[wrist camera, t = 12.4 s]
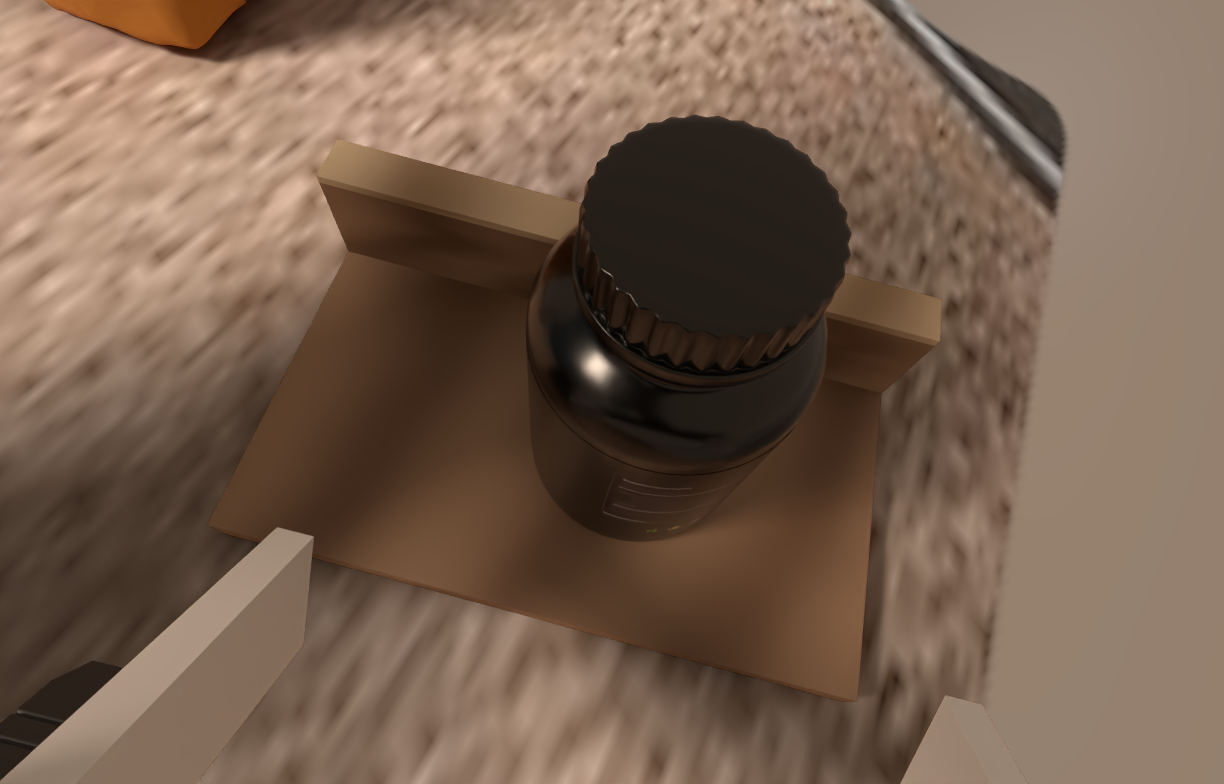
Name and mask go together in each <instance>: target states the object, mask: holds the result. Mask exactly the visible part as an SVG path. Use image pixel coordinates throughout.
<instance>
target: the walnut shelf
mask: <svg viewBox="0 0 1224 784" xmlns="http://www.w3.org/2000/svg"><path fill="white" fill-rule="evenodd" d="M317 178H318V181H319V183H320V185H321V188H322V190H323V192H324V195H325V197H326V199H327V202H328V204H329V206H330V209H331V211H332V214H333V216H334V218H335V221H336V223H337V225H338V228H339V230H340V232H341V235H342V237H343V239H344V242H345V244H346V247H347V249H348V253H347V255H346V257H345V259H344V261H343V263H342V265H341V267H340V269H339V271H338V273H337V275H336V276H335V278H334V280H333V282H332V284H331V286H330V288H329V290H328V292H327V294H326V296H325V298H324V300H323V302H322V304H321V305H320V307H319V309H318V311H317V313H316V315H315V317H314V319H313V321H312V323H311V325H310V327H309V329H308V331H307V333H306V334H305V336H304V338H303V340H302V342H301V344H300V346H299V348H298V350H297V352H296V354H295V356H294V358H293V360H292V362H291V363H290V365H289V367H288V369H287V371H286V373H285V375H284V377H283V379H282V381H281V383H280V385H279V387H278V389H277V391H276V392H275V394H274V396H273V398H272V400H271V402H270V404H269V406H268V408H267V410H266V412H265V414H264V416H263V418H262V420H261V421H260V423H259V425H258V427H257V429H256V431H255V433H254V435H253V437H252V439H251V441H250V443H249V445H248V447H247V449H246V450H245V452H244V454H243V456H242V458H241V460H240V462H239V464H238V466H237V468H236V470H235V472H234V474H233V476H232V478H231V479H230V481H229V483H228V485H227V487H226V489H225V491H224V493H223V495H222V497H221V499H220V501H219V503H218V505H217V506H216V508H215V510H214V512H213V514H212V516H211V518H210V520H209V522H208V524H207V525H209V526H211V527H213V528H214V529H216V530H218V531H220V532H222V533H224V534H228V535H231V536H235V537H239V538H242V539H246V540H250V541H253V542H257V543H261V542H262V541H263V540H264V539H265V538H266V537H267V536H268V535H269V534H270V533H272V532H273V531H274V530H275V529H276V528H277V527H278V528H282V529H286V530H290V531H294V532H298V533H302V534H306V535H310V536H314V540H313V551H312V558H316V559H319V560H323V561H327V562H330V563H334V564H338V565H341V566H345V567H349V568H352V569H356V570H360V571H363V572H367V573H371V574H374V575H378V576H382V577H386V578H389V579H393V580H397V581H400V582H404V583H408V584H411V585H415V586H419V587H422V588H426V589H430V590H433V591H437V592H441V593H444V594H448V595H452V596H455V597H459V598H463V599H466V600H470V601H474V602H477V603H481V604H485V605H488V606H492V607H496V608H499V609H503V610H507V611H510V612H514V613H518V614H521V615H525V616H529V617H532V618H536V619H540V620H543V621H547V622H551V623H554V624H558V625H562V626H566V627H569V628H573V629H577V630H580V631H584V632H588V633H591V634H595V635H599V636H602V637H606V638H610V639H613V640H617V641H621V642H624V643H628V644H632V645H635V646H639V647H643V648H646V649H650V650H654V651H657V652H661V653H665V654H668V655H672V656H676V657H679V658H683V659H687V660H690V661H694V662H698V663H701V664H705V665H709V666H712V667H716V668H720V669H723V670H727V671H731V672H734V673H738V674H742V675H745V676H749V677H753V678H757V679H760V680H764V681H768V682H771V683H775V684H779V685H782V686H786V687H790V688H793V689H797V690H801V691H804V692H808V693H812V694H815V695H819V696H823V697H826V698H830V699H834V700H837V701H848V702H857V699H858V686H859V673H860V661H861V648H862V635H863V622H864V610H865V597H866V584H867V571H868V559H869V546H870V533H871V520H872V507H873V495H874V482H875V469H876V456H877V444H878V431H879V418H880V405H881V393H882V392H884V391H885V390H886V389H887V388H888V387H889V386H890V385H891V384H893V383H894V382H895V381H896V380H897V379H898V378H899V377H901V376H902V375H903V374H904V373H905V372H906V371H907V370H908V369H910V368H911V367H912V366H913V365H914V364H915V363H916V362H917V361H919V360H920V359H921V358H922V357H923V356H924V355H925V354H926V353H928V352H929V351H930V350H931V349H932V348H933V347H934V346H935V345H937V344H938V343H939V342H940V331H941V304H942V299H939V298H936V297H932V296H928V295H924V294H920V293H917V292H913V291H909V290H905V289H902V288H898V287H894V286H890V285H886V284H883V283H879V282H875V281H871V280H868V279H864V278H860V277H856V276H852V275H849V274H845V277H844V280H843V282H842V284H841V285H840V287H839V288H838V290H837V291H836V292H835V294H834V297H833V299H832V302H831V303H830V305H829V306H828V307H827V309H826V310H825V315H826V320H827V328H828V356H827V363H826V368H825V373H824V376H823V379H822V382H821V385H820V388H819V391H818V393H817V395H816V397H815V399H814V401H813V403H812V404H811V406H810V408H809V409H808V411H807V412H806V414H805V415H804V417H803V418H802V419H801V420H800V422H799V423H798V424H797V425H796V427H795V428H794V429H793V430H792V432H791V433H790V434H789V435H788V436H787V437H786V438H785V439H784V440H783V441H782V442H781V443H780V444H779V445H778V446H777V447H776V448H775V449H774V450H773V451H772V452H771V453H770V454H769V455H768V456H767V457H766V458H765V459H764V460H763V461H762V462H761V463H760V464H759V465H758V466H757V467H756V468H755V469H754V470H753V471H752V472H751V474H750V475H749V476H748V477H747V478H746V479H745V480H744V481H743V482H742V483H741V484H740V485H739V486H738V487H737V488H736V489H735V490H734V491H733V492H732V493H731V494H730V495H729V496H728V497H727V498H726V499H725V500H724V501H723V502H722V503H721V504H720V505H719V506H718V507H717V508H716V509H715V510H714V511H713V512H712V513H710V514H709V515H708V516H707V517H706V518H705V519H703V520H702V521H701V522H699V523H698V524H696V525H695V526H693V527H692V528H690V529H688V530H686V531H684V532H682V533H680V534H677V535H675V536H672V537H669V538H665V539H661V540H655V541H646V542H630V541H623V540H617V539H613V538H609V537H606V536H603V535H600V534H597V533H595V532H593V531H591V530H589V529H587V528H585V527H583V526H582V525H580V524H579V523H577V522H576V521H574V520H573V519H572V518H570V517H569V516H568V515H567V514H566V513H565V512H564V511H563V510H562V509H561V508H560V507H559V506H558V505H557V504H556V503H555V502H554V500H553V499H552V498H551V496H550V495H549V493H548V492H547V490H546V488H545V487H544V485H543V483H542V481H541V479H540V476H539V474H538V471H537V468H536V465H535V461H534V457H533V451H532V443H531V431H530V411H529V391H528V371H527V351H526V318H527V307H528V301H529V296H530V292H531V288H532V285H533V282H534V280H535V277H536V275H537V273H538V271H539V268H540V266H541V265H542V263H543V261H544V259H545V258H546V256H547V255H548V253H549V252H550V251H551V249H552V248H553V247H554V245H555V244H556V243H557V242H558V241H559V240H560V239H561V238H562V236H563V235H564V234H565V233H566V232H568V231H569V230H570V229H571V228H572V227H573V226H574V225H576V224H577V223H578V220H579V210H580V206H581V204H580V203H577V202H573V201H569V200H565V199H562V198H558V197H554V196H550V195H546V194H543V193H539V192H535V191H531V190H528V189H524V188H520V187H516V186H512V185H509V184H505V183H501V182H497V181H494V180H490V179H486V178H482V177H478V176H475V175H471V174H467V173H463V172H460V171H456V170H452V169H448V168H444V167H441V166H437V165H433V164H429V163H426V162H422V161H418V160H414V159H410V158H407V157H403V156H399V155H395V154H392V153H388V152H384V151H380V150H376V149H373V148H369V147H365V146H361V145H358V144H354V143H350V142H346V141H342V140H339V139H338V140H337V141H336V143H335V145H334V146H333V148H332V150H331V152H330V153H329V155H328V157H327V159H326V160H325V162H324V164H323V165H322V167H321V169H320V171H319V172H318V174H317Z"/></svg>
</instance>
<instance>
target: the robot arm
mask: <svg viewBox="0 0 1224 784" xmlns="http://www.w3.org/2000/svg"><path fill="white" fill-rule="evenodd" d="M313 540H314V536H310V535H306V534H302V533H298V532H294V531H290V530H286V529H282V528H278V527H277V528H276V529H275V530H274V531H273V532H272V533H270V534H269V535H268V536H267V537H266V538H265V539H264V540H263V541H262V542H261V543H259V544H258V545H257V546H256V547H255V548H254V549H253V550H252V551H251V552H250V553H249V554H247V555H246V556H245V557H244V558H243V559H242V560H241V561H240V562H239V563H238V564H237V565H235V566H234V567H233V568H232V569H231V570H230V571H229V572H228V573H227V574H226V575H225V576H223V577H222V578H221V579H220V580H219V581H218V582H217V583H216V584H215V585H214V586H212V587H211V588H210V589H209V590H208V591H207V592H206V593H205V594H204V595H203V596H202V597H200V598H199V599H198V600H197V601H196V602H195V603H194V604H193V605H192V606H191V607H190V608H188V609H187V610H186V611H185V612H184V613H183V614H182V615H181V616H180V617H179V618H178V619H176V620H175V621H174V622H173V623H172V624H171V625H170V626H169V627H168V628H167V629H166V630H164V631H163V632H162V633H161V634H160V635H159V636H158V637H157V638H156V639H155V640H153V641H152V642H151V643H150V644H149V645H148V646H147V647H146V648H145V649H144V650H143V651H141V652H140V653H139V654H138V655H137V656H136V657H135V658H134V659H133V660H132V661H131V662H129V663H128V664H127V665H126V666H125V667H124V668H120V667H116V666H112V665H108V664H104V663H100V662H96V661H91V662H89V663H87V664H85V665H83V666H81V667H79V668H77V669H75V670H73V671H71V672H69V673H67V674H65V675H63V676H61V677H59V678H57V679H55V680H53V681H51V682H50V683H49V684H47V685H46V686H45V687H44V688H43V689H41V690H40V691H39V692H38V693H37V694H35V695H34V696H33V697H32V698H30V699H29V700H28V701H27V702H26V703H24V704H23V705H22V706H21V707H20V708H18V711H17V713H16V714H15V715H13V714H11V715H10V716H9V717H8V718H6V719H5V720H4V721H3V722H2V723H0V784H197V782H198V781H199V780H200V778H201V777H202V776H203V775H204V773H205V772H206V771H207V769H208V768H209V767H210V765H211V764H212V763H213V762H214V760H215V759H216V758H217V756H218V755H219V754H220V752H221V751H222V750H223V749H224V747H225V746H226V745H227V743H228V742H229V741H230V739H231V738H232V737H233V736H234V734H235V733H236V732H237V730H238V729H239V728H240V726H241V725H242V724H243V723H244V721H245V720H246V719H247V717H248V716H249V715H250V713H251V712H252V711H253V710H254V708H255V707H256V706H257V704H258V703H259V702H260V700H261V699H262V698H263V697H264V695H265V694H266V693H267V691H268V690H269V689H270V687H271V686H272V685H273V684H274V682H275V681H276V680H277V678H278V677H279V676H280V674H281V673H282V672H283V671H284V669H285V668H286V667H287V665H288V664H289V663H290V661H291V660H292V659H293V658H294V656H295V655H296V654H297V652H298V651H299V650H300V648H301V647H302V646H303V644H304V634H305V624H306V613H307V603H308V592H309V582H310V572H311V561H312V551H313ZM900 784H1028V783H1027V781H1026V780H1025V778H1024V776H1023V774H1022V773H1021V771H1020V769H1019V767H1018V766H1017V764H1016V762H1015V760H1014V759H1013V757H1012V756H1011V754H1010V752H1009V750H1008V748H1007V747H1006V745H1005V743H1004V741H1003V740H1002V738H1001V736H1000V734H999V733H998V731H997V729H996V728H995V726H994V724H993V722H992V721H991V719H990V717H989V715H988V714H987V712H986V710H985V708H984V707H983V705H982V704H978V703H974V702H970V701H966V700H962V699H958V698H954V697H950V696H946V695H945V697H944V699H943V701H942V703H941V704H940V706H939V708H938V710H937V712H936V714H935V716H934V718H933V720H932V722H931V724H930V726H929V728H928V730H927V732H926V734H925V736H924V738H923V740H922V742H921V744H920V746H919V748H918V750H917V752H916V754H915V756H914V758H913V760H912V761H911V763H910V765H909V767H908V769H907V771H906V773H905V775H904V777H903V779H902V781H901V783H900Z"/></svg>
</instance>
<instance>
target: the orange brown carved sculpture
mask: <svg viewBox="0 0 1224 784" xmlns="http://www.w3.org/2000/svg"><path fill="white" fill-rule="evenodd" d="M45 1H46V2H47V3H48V4H49V5H51V6H52V7H53V8H55V9H57V10H60V11H65V12H69V13H71V14H73V15H75V16H77V17H80V18H83V19H85V20H91V21H94V22H96V23H99V24H101V25H104V26H108V27H112V28H115V29H117V30H120V31H122V32H125V33H127V34H129V35H131V36H133V37H136V38H138V39H141V40H144V41H148V42H151V43H154V44H159V45H174V46H180V47H184V48H190V49H197V48H199V47H201V46H203V45H204V44H205V43H206V42H207V41H208V40H209V39H210V38H211V37H212V35H213V34H214V33H215V32H216V31H217V30H218V29H219V27H220V26H221V25H222V24H223V23H224V22H225V21H226V19H227V18H228V17H229V16H230V15H231V14H232V13H233V12H234V11H235V10H236V9H238V8H239V7H241V6H242V5H244V4H245V2H246V1H247V0H45Z"/></svg>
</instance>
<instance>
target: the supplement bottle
mask: <svg viewBox="0 0 1224 784" xmlns="http://www.w3.org/2000/svg"><path fill="white" fill-rule="evenodd" d="M846 219H847V211H846V210H845V208H844V207H843V206H842V204H841V203H840V202H839V195H838V191H837V190H836V189H835V188H834V187H833V186H832V185H831V184H830V183H829V182H828V180H827V177H826V175H825V172H823V171H822V170H821V169H819V168H818V167H816V166H815V165H814V164H813V163H812V161H811V159H810V158H809V156H808V155H806V154H805V153H803V152H801V151H799V150H797V149H795V148H794V147H793V145H792V144H791V143H790V142H789V141H788V140H785V139H782V138H779V137H776V136H775V135H773V134H772V133H771V132H770V131H768V130H767V129H763V128H758V127H753V126H752V125H750V124H748V123H746V122H745V121H731V120H728V119H726V118H723V117H720V116H715V117H708V118H707V117H702V116H698V115H692V116H689V117H686V118H677V117H670V118H668V119H666V120H665V121H663V122H658V123H648V124H647V125H646V126H645V127H644V128H643V129H641V130H639V131H634V132H630V133H628V134H627V136H626V137H625V138H624V140H623V141H622V142H619V143H617V144H615V145H613V146H611V147H610V150H609V152H608V155H607V156H606V157H605V158H603V159H601V160H600V161H599V162H597V164H596V166H595V171H594V175H593V176H592V177H591V178H590V179H589V180H588V181H587V183H586V186H585V191H584V200H583V201H582V204H581V206H580V210H579V220H578V223H577V224H576V225H574V226H573V227H572V228H571V229H570V230H569V231H568V232H566V233H565V234H564V235H563V236H562V238H561V239H560V240H559V241H558V242H557V243H556V244H555V245H554V247H553V248H552V249H551V251H550V252H549V253H548V255H547V256H546V258H545V259H544V261H543V263H542V265H541V266H540V268H539V271H538V273H537V275H536V277H535V280H534V282H533V285H532V288H531V292H530V296H529V301H528V307H527V318H526V351H527V371H528V391H529V411H530V431H531V443H532V451H533V457H534V461H535V465H536V468H537V471H538V474H539V476H540V479H541V481H542V483H543V485H544V487H545V488H546V490H547V492H548V493H549V495H550V496H551V498H552V499H553V500H554V502H555V503H556V504H557V505H558V506H559V507H560V508H561V509H562V510H563V511H564V512H565V513H566V514H567V515H568V516H569V517H570V518H572V519H573V520H574V521H576V522H577V523H579V524H580V525H582V526H583V527H585V528H587V529H589V530H591V531H593V532H595V533H597V534H600V535H603V536H606V537H609V538H613V539H617V540H623V541H630V542H646V541H655V540H661V539H665V538H669V537H672V536H675V535H677V534H680V533H682V532H684V531H686V530H688V529H690V528H692V527H693V526H695V525H696V524H698V523H699V522H701V521H702V520H703V519H705V518H706V517H707V516H708V515H709V514H710V513H712V512H713V511H714V510H715V509H716V508H717V507H718V506H719V505H720V504H721V503H722V502H723V501H724V500H725V499H726V498H727V497H728V496H729V495H730V494H731V493H732V492H733V491H734V490H735V489H736V488H737V487H738V486H739V485H740V484H741V483H742V482H743V481H744V480H745V479H746V478H747V477H748V476H749V475H750V474H751V472H752V471H753V470H754V469H755V468H756V467H757V466H758V465H759V464H760V463H761V462H762V461H763V460H764V459H765V458H766V457H767V456H768V455H769V454H770V453H771V452H772V451H773V450H774V449H775V448H776V447H777V446H778V445H779V444H780V443H781V442H782V441H783V440H784V439H785V438H786V437H787V436H788V435H789V434H790V433H791V432H792V430H793V429H794V428H795V427H796V425H797V424H798V423H799V422H800V420H801V419H802V418H803V417H804V415H805V414H806V412H807V411H808V409H809V408H810V406H811V404H812V403H813V401H814V399H815V397H816V395H817V393H818V391H819V388H820V385H821V382H822V379H823V376H824V373H825V368H826V363H827V356H828V328H827V320H826V315H825V310H826V309H827V307H828V306H829V305H830V303H831V302H832V299H833V297H834V294H835V292H836V291H837V290H838V288H839V287H840V285H841V284H842V282H843V280H844V277H845V266H846V265H847V263H848V261H849V259H850V256H851V254H850V249H849V247H848V243H849V240H850V237H851V234H852V233H851V231H850V228H849V227H848V225H847V223H846Z"/></svg>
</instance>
